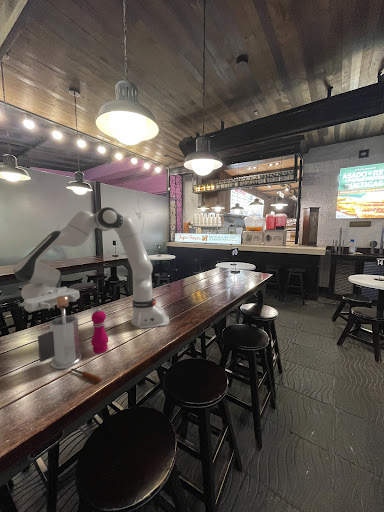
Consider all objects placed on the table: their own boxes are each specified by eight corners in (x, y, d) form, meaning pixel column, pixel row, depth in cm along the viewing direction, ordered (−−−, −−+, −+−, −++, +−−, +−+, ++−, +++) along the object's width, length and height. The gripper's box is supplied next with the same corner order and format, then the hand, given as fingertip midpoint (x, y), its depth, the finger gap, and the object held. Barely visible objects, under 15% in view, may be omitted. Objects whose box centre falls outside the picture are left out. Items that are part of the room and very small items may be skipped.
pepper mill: (95, 346, 102) (93, 305, 100) (110, 345, 103) (108, 305, 100) (89, 354, 95) (86, 311, 93) (105, 354, 96) (104, 310, 93)
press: (85, 353, 96) (83, 314, 94) (70, 373, 83) (67, 328, 80) (59, 354, 95) (56, 315, 93) (39, 374, 82) (35, 329, 80)
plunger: (77, 352, 93) (73, 294, 90) (70, 361, 87) (66, 299, 84) (62, 353, 93) (58, 294, 90) (55, 361, 87) (50, 299, 84)
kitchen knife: (102, 382, 78) (101, 377, 78) (99, 384, 77) (98, 379, 77) (72, 370, 85) (72, 365, 85) (69, 372, 84) (68, 367, 83)
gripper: (16, 296, 85) (33, 302, 78) (68, 285, 102) (86, 289, 95) (18, 311, 86) (34, 319, 78) (69, 298, 103) (87, 303, 96)
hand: (63, 302), depth 87 cm, fingers open, 8 cm apart
